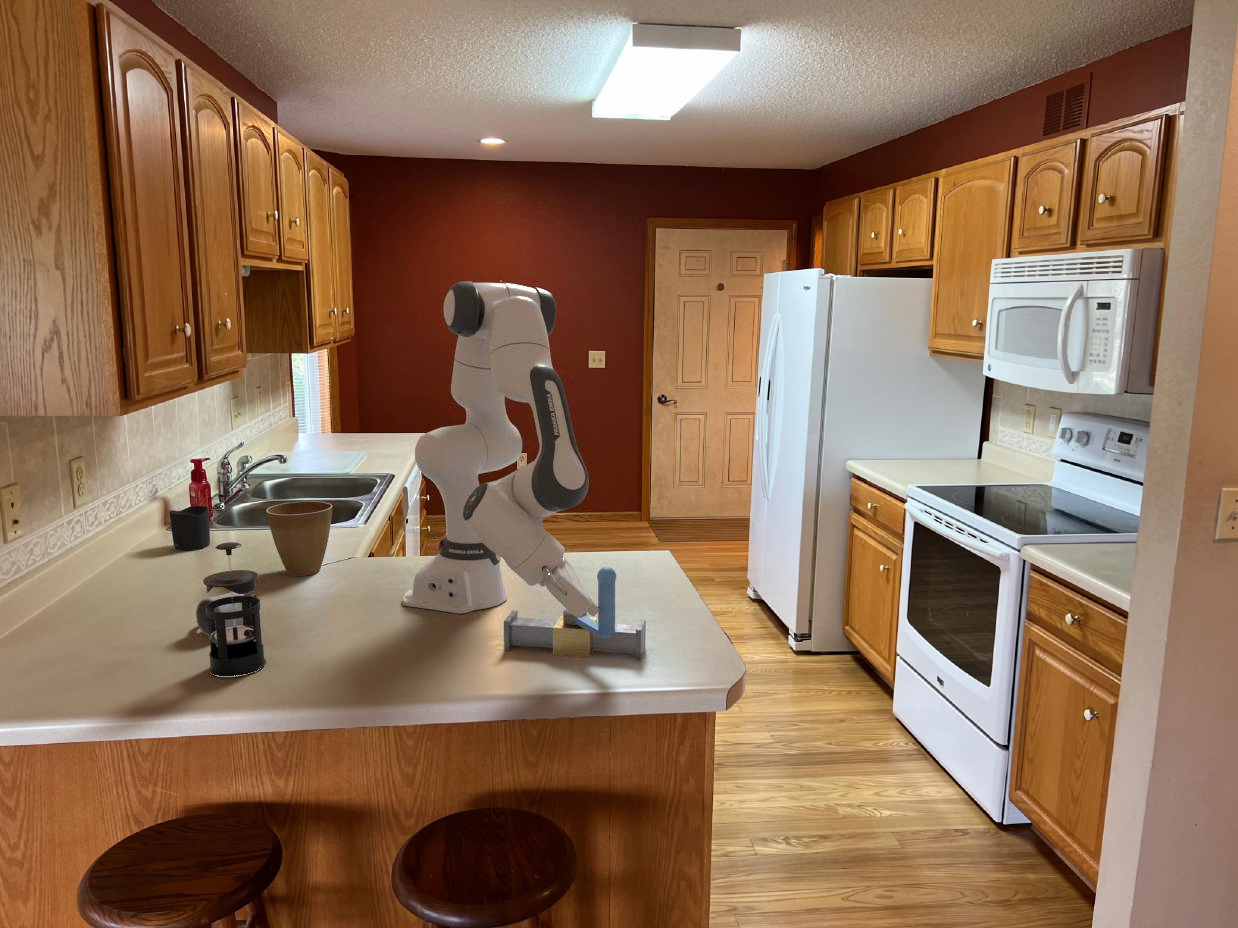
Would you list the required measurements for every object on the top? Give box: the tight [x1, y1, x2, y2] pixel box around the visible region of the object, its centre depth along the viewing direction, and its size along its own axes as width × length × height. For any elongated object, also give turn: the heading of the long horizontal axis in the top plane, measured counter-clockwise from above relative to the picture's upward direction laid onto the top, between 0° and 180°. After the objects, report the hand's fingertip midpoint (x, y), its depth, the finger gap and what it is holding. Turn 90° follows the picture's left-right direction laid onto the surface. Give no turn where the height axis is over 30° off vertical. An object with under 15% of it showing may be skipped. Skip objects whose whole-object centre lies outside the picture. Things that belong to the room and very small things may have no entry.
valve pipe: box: [503, 609, 647, 662], centre depth 170 cm, size 26×6×6 cm, turn 80°
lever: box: [562, 566, 617, 639], centre depth 164 cm, size 15×4×13 cm, turn 34°
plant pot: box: [265, 500, 333, 577], centre depth 217 cm, size 15×15×16 cm
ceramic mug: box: [195, 592, 245, 637], centre depth 181 cm, size 11×8×8 cm
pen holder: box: [168, 505, 211, 552], centre depth 238 cm, size 9×9×10 cm
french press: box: [202, 541, 267, 676], centre depth 161 cm, size 12×9×23 cm
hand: (595, 611), depth 159 cm, fingers closed, pressing on lever
